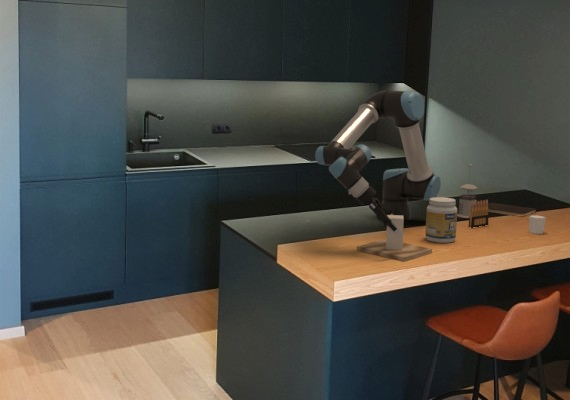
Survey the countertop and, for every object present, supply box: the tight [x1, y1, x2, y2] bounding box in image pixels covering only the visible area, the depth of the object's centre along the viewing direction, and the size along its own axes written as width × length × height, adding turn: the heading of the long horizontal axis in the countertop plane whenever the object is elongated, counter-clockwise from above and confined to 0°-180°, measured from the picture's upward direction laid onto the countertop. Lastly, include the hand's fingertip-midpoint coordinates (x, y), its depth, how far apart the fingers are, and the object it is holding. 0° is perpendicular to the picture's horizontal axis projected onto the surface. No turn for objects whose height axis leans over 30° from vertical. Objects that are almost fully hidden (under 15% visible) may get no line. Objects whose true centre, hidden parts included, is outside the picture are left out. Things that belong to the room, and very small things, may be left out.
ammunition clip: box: [468, 199, 490, 229], centre depth 315 cm, size 11×2×12 cm, turn 122°
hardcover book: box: [488, 202, 537, 216], centre depth 351 cm, size 16×23×2 cm
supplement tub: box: [424, 196, 458, 244], centre depth 289 cm, size 12×12×17 cm
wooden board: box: [356, 238, 433, 262], centre depth 272 cm, size 22×18×2 cm
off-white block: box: [385, 215, 405, 250], centre depth 270 cm, size 6×6×12 cm
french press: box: [457, 163, 478, 219], centre depth 337 cm, size 10×12×25 cm
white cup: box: [528, 214, 547, 235], centre depth 305 cm, size 7×7×7 cm
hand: (401, 232), depth 270 cm, fingers open, 13 cm apart
